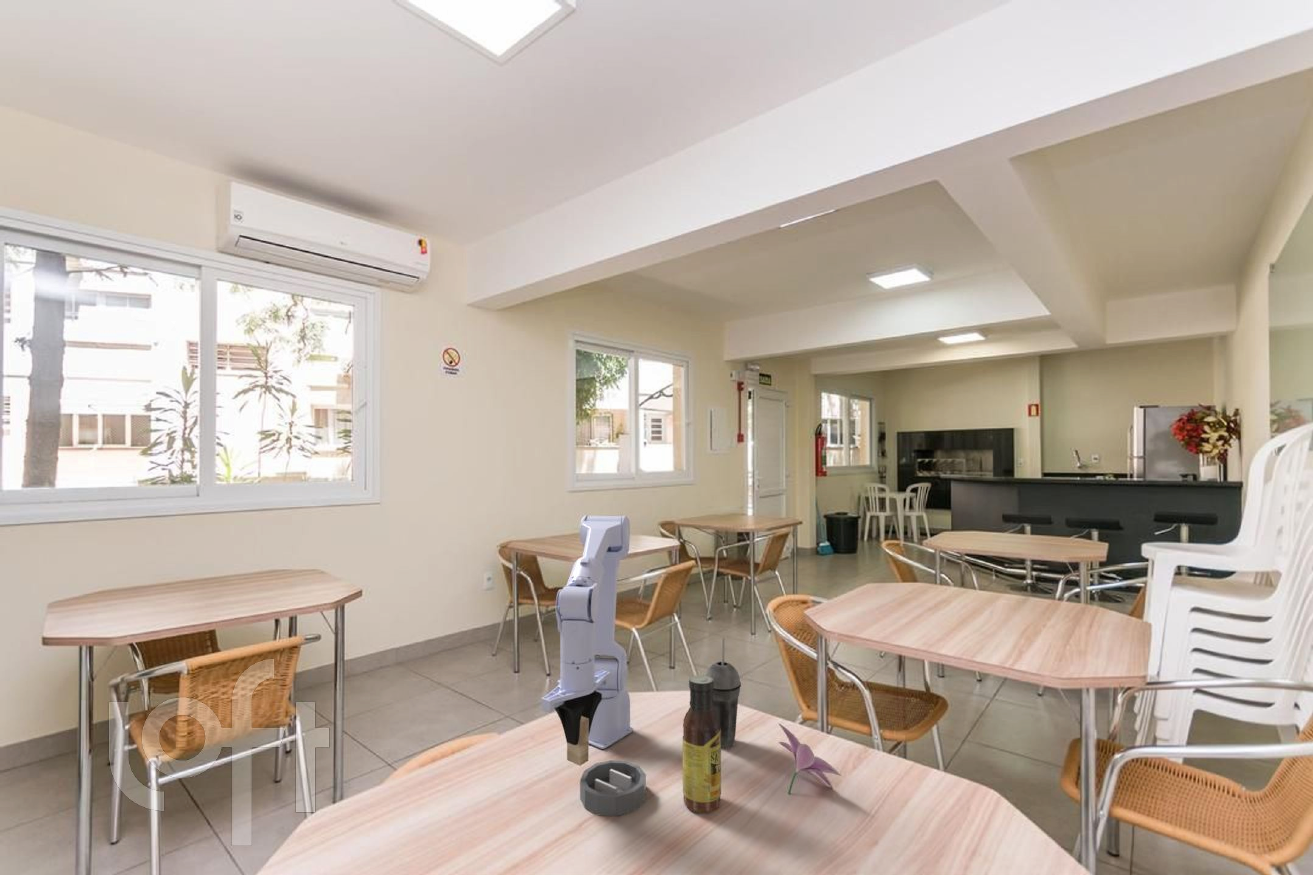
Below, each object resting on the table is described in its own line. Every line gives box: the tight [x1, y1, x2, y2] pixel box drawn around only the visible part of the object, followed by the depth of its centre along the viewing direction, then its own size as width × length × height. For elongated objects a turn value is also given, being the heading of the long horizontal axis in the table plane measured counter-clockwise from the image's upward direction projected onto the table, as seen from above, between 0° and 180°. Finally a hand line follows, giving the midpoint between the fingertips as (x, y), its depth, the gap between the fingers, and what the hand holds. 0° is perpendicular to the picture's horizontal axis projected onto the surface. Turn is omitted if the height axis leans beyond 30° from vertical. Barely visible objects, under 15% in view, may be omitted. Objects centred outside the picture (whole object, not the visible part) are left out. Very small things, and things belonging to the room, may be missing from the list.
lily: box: [778, 723, 842, 795], centre depth 99 cm, size 12×12×10 cm
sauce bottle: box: [682, 674, 722, 814], centre depth 95 cm, size 7×6×20 cm
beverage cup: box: [705, 637, 742, 750], centre depth 115 cm, size 7×7×20 cm
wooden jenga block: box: [566, 716, 590, 767], centre depth 98 cm, size 2×3×7 cm, turn 54°
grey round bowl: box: [579, 759, 647, 817], centre depth 97 cm, size 11×11×3 cm
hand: (577, 739), depth 98 cm, fingers closed on wooden jenga block, 2 cm apart
